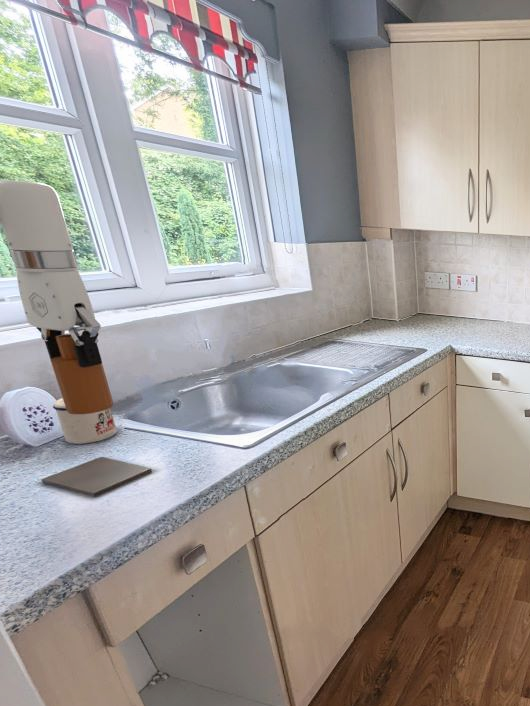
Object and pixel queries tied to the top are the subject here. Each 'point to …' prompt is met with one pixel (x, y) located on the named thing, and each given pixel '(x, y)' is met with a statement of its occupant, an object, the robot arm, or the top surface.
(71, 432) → the teacup with lid
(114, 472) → the board
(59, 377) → the bottle
